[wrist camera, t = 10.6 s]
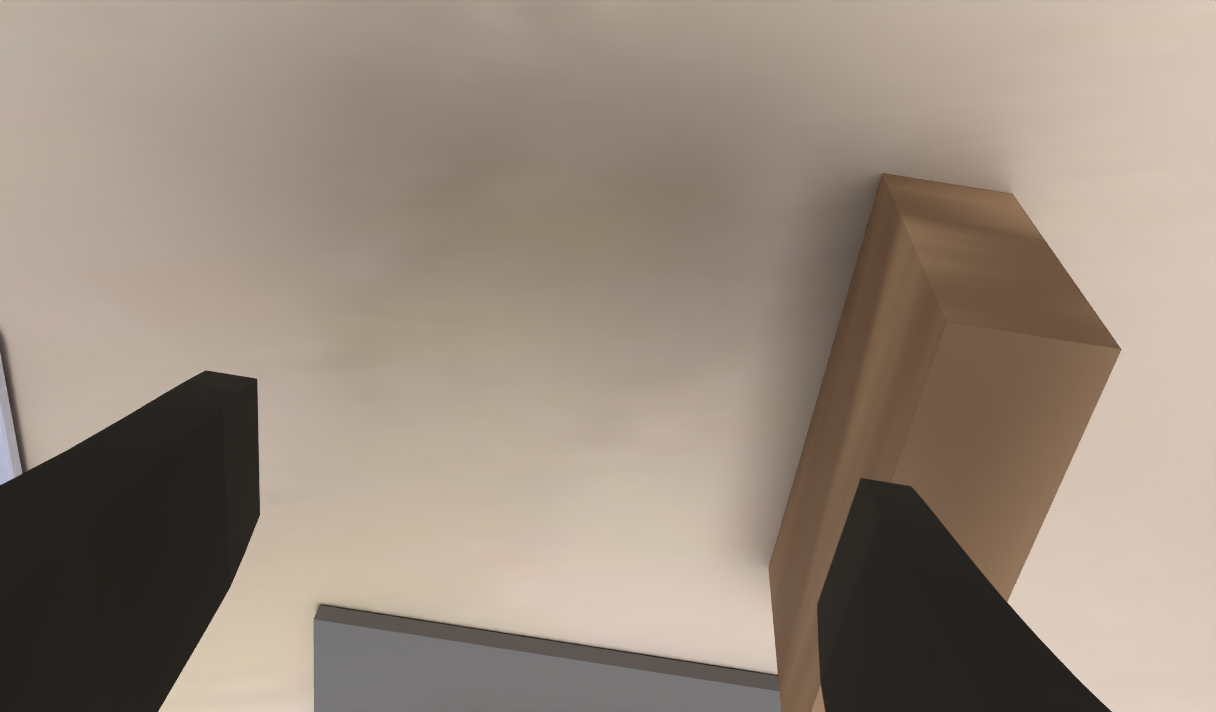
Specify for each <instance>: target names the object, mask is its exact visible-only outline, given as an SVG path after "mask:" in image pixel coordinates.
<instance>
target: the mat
mask: <svg viewBox="0 0 1216 712" xmlns="http://www.w3.org/2000/svg"><path fill="white" fill-rule="evenodd" d="M314 712H781V702H780V691H779V680H778V676H774V675H767V674H761V673H755V672H748V671H742V670H735V669H729V668H722V667H716V666H709V665H703V664H696V663H690V662H684V661H677V660H671V659H664V658H658V657H651V656H645V655H638V654H632V653H626V652H619V651H613V650H606V649H600V648H593V647H587V646H580V645H574V644H568V643H561V642H555V641H548V640H542V639H535V638H529V637H522V636H516V635H510V634H503V633H497V632H490V631H484V630H477V629H471V628H464V627H458V626H452V625H445V624H439V623H432V622H426V621H419V620H413V619H406V618H400V617H393V616H387V615H381V614H374V613H368V612H361V611H355V610H348V609H342V608H335V607H329V606H323V605H320V606H319V608H318V611H317V613H316V615H315V618H314Z"/></svg>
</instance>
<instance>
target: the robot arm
mask: <svg viewBox="0 0 1216 712" xmlns="http://www.w3.org/2000/svg"><path fill="white" fill-rule="evenodd" d="M259 516H260V494H259V446H258V397H257V379H255V378H249V377H243V376H236V375H230V374H224V373H218V372H212V371H204V372H202V373H200V374H198V375H196V376H194V377H192V378H191V379H189V380H187V381H185V382H184V383H182V384H180V385H178V386H177V387H175V388H173V389H172V390H170V391H168V392H166V393H165V394H163V395H161V396H160V397H158V398H156V399H155V400H153V401H151V402H150V403H148V404H146V405H145V406H143V407H141V408H140V409H138V410H136V411H135V412H133V413H131V414H129V415H128V416H126V417H124V418H123V419H121V420H119V421H117V422H116V423H114V424H112V425H111V426H109V427H107V428H105V429H104V430H102V431H100V432H98V433H97V434H95V435H93V436H91V437H90V438H88V439H86V440H84V441H83V442H81V443H79V444H78V445H76V446H74V447H72V448H71V449H69V450H67V451H65V452H63V453H61V454H59V455H58V456H56V457H54V458H52V459H50V460H48V461H46V462H44V463H42V464H40V465H38V466H36V467H34V468H32V469H31V470H29V471H27V472H25V473H23V474H22V469H21V464H20V458H19V453H18V447H17V442H16V436H15V431H14V425H13V420H12V415H11V409H10V404H9V398H8V393H7V387H6V382H5V376H4V371H3V365H2V360H1V354H0V712H158V711H159V709H160V707H161V706H162V704H163V702H164V701H165V699H166V697H167V695H168V694H169V692H170V690H171V689H172V687H173V685H174V683H175V682H176V680H177V678H178V677H179V675H180V673H181V672H182V670H183V668H184V666H185V665H186V663H187V661H188V660H189V658H190V656H191V654H192V653H193V651H194V649H195V648H196V646H197V644H198V643H199V641H200V639H201V637H202V636H203V634H204V632H205V630H206V629H207V627H208V625H209V623H210V622H211V620H212V618H213V616H214V615H215V613H216V611H217V610H218V608H219V606H220V604H221V603H222V601H223V599H224V597H225V595H226V594H227V592H228V590H229V588H230V586H231V584H232V582H233V579H234V577H235V575H236V572H237V570H238V568H239V565H240V563H241V561H242V558H243V556H244V554H245V551H246V549H247V546H248V543H249V541H250V538H251V536H252V533H253V531H254V528H255V526H256V523H257V521H258V518H259ZM817 620H818V650H819V668H820V683H821V689H822V695H823V701H824V707H825V712H1112V711H1110V710H1109V709H1108V708H1107V707H1106V706H1105V705H1104V704H1103V703H1102V702H1101V701H1100V700H1099V699H1098V698H1097V697H1096V696H1095V695H1094V694H1092V693H1091V692H1090V691H1089V690H1088V689H1087V688H1086V687H1085V686H1084V685H1083V684H1082V683H1081V682H1080V681H1079V680H1078V679H1077V678H1076V677H1075V676H1074V675H1073V674H1072V673H1071V671H1070V670H1069V669H1068V668H1067V667H1066V666H1065V665H1064V664H1063V663H1062V662H1061V661H1060V660H1059V659H1058V658H1057V657H1056V656H1055V655H1054V654H1053V653H1052V651H1051V650H1050V649H1049V648H1048V647H1047V646H1046V645H1045V644H1044V643H1043V642H1042V641H1041V640H1040V639H1039V638H1038V637H1037V636H1036V634H1035V633H1034V632H1033V631H1032V630H1031V629H1030V628H1029V627H1028V626H1027V624H1026V623H1025V622H1024V621H1023V620H1022V619H1021V618H1020V617H1019V615H1018V614H1017V613H1016V612H1015V611H1014V610H1013V609H1012V607H1011V606H1010V605H1009V604H1008V603H1007V602H1006V600H1005V599H1004V598H1003V597H1002V596H1001V595H1000V593H999V592H998V591H997V590H996V589H995V588H994V586H993V585H992V584H991V583H990V582H989V580H988V579H987V578H986V577H985V576H984V574H983V573H982V572H981V571H980V570H979V568H978V567H977V566H976V565H975V563H974V562H973V561H972V560H971V559H970V557H969V556H968V555H967V554H966V552H965V551H964V550H963V549H962V547H961V546H960V545H959V544H958V542H957V541H956V540H955V539H954V537H953V536H952V535H951V534H950V532H949V531H948V530H947V529H946V527H945V526H944V525H943V524H942V522H941V521H940V520H939V519H938V517H937V516H936V515H935V514H934V513H933V511H932V510H931V509H930V508H929V506H928V505H927V504H926V503H925V502H924V500H923V499H922V498H921V497H920V496H919V494H918V493H917V492H916V491H915V490H914V489H913V488H912V486H907V485H901V484H895V483H889V482H883V481H877V480H871V479H865V478H860V481H859V484H858V487H857V490H856V493H855V496H854V499H853V502H852V505H851V507H850V510H849V513H848V516H847V519H846V522H845V525H844V528H843V531H842V534H841V536H840V539H839V542H838V545H837V548H836V551H835V554H834V557H833V560H832V563H831V565H830V568H829V571H828V574H827V577H826V580H825V583H824V586H823V589H822V592H821V595H820V597H819V600H818V603H817Z"/></svg>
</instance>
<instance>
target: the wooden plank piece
mask: <svg viewBox="0 0 1216 712" xmlns="http://www.w3.org/2000/svg"><path fill="white" fill-rule="evenodd" d="M1120 351H1121V348H1120V347H1119V345H1118V344H1117V343H1116V341H1115V340H1114V338H1113V337H1112V335H1111V334H1110V333H1109V331H1108V330H1107V328H1106V327H1105V325H1104V324H1103V323H1102V321H1101V320H1100V318H1099V317H1098V315H1097V314H1096V313H1095V311H1094V310H1093V308H1092V307H1091V305H1090V304H1089V303H1088V301H1087V300H1086V298H1085V297H1084V295H1083V294H1082V293H1081V291H1080V290H1079V288H1078V287H1077V285H1076V284H1075V283H1074V281H1073V280H1072V278H1071V277H1070V275H1069V274H1068V273H1067V271H1066V270H1065V268H1064V267H1063V265H1062V264H1061V263H1060V261H1059V260H1058V258H1057V257H1056V255H1055V254H1054V253H1053V251H1052V250H1051V248H1050V247H1049V245H1048V244H1047V243H1046V241H1045V240H1044V238H1043V237H1042V235H1041V234H1040V233H1039V231H1038V230H1037V228H1036V227H1035V225H1034V224H1033V223H1032V221H1031V220H1030V218H1029V217H1028V215H1027V214H1026V213H1025V211H1024V210H1023V208H1022V207H1021V205H1020V204H1019V203H1018V201H1017V200H1016V198H1015V197H1014V195H1013V194H1009V193H1002V192H996V191H990V190H984V189H977V188H971V187H965V186H958V185H952V184H946V183H940V182H933V181H927V180H921V179H914V178H908V177H902V176H895V175H889V174H883V173H882V177H881V180H880V184H879V187H878V191H877V194H876V198H875V201H874V204H873V208H872V211H871V215H870V218H869V222H868V225H867V229H866V232H865V236H864V239H863V243H862V246H861V250H860V253H859V257H858V260H857V264H856V267H855V270H854V274H853V277H852V281H851V284H850V288H849V291H848V295H847V298H846V302H845V305H844V309H843V312H842V316H841V319H840V323H839V326H838V330H837V333H836V336H835V340H834V343H833V347H832V350H831V354H830V357H829V361H828V364H827V368H826V371H825V375H824V378H823V382H822V385H821V389H820V392H819V395H818V399H817V402H816V406H815V409H814V413H813V416H812V420H811V423H810V427H809V430H808V434H807V437H806V441H805V444H804V448H803V451H802V455H801V458H800V461H799V465H798V468H797V472H796V475H795V479H794V482H793V486H792V489H791V493H790V496H789V500H788V503H787V507H786V510H785V514H784V517H783V520H782V524H781V527H780V531H779V534H778V538H777V541H776V545H775V548H774V552H773V555H772V559H771V562H770V566H769V578H770V589H771V601H772V612H773V623H774V634H775V646H776V657H777V668H778V680H779V691H780V702H781V712H825V707H824V701H823V695H822V689H821V683H820V668H819V650H818V620H817V603H818V600H819V597H820V595H821V592H822V589H823V586H824V583H825V580H826V577H827V574H828V571H829V568H830V565H831V563H832V560H833V557H834V554H835V551H836V548H837V545H838V542H839V539H840V536H841V534H842V531H843V528H844V525H845V522H846V519H847V516H848V513H849V510H850V507H851V505H852V502H853V499H854V496H855V493H856V490H857V487H858V484H859V481H860V478H865V479H871V480H877V481H883V482H889V483H895V484H901V485H907V486H912V488H913V489H914V490H915V491H916V492H917V493H918V494H919V496H920V497H921V498H922V499H923V500H924V502H925V503H926V504H927V505H928V506H929V508H930V509H931V510H932V511H933V513H934V514H935V515H936V516H937V517H938V519H939V520H940V521H941V522H942V524H943V525H944V526H945V527H946V529H947V530H948V531H949V532H950V534H951V535H952V536H953V537H954V539H955V540H956V541H957V542H958V544H959V545H960V546H961V547H962V549H963V550H964V551H965V552H966V554H967V555H968V556H969V557H970V559H971V560H972V561H973V562H974V563H975V565H976V566H977V567H978V568H979V570H980V571H981V572H982V573H983V574H984V576H985V577H986V578H987V579H988V580H989V582H990V583H991V584H992V585H993V586H994V588H995V589H996V590H997V591H998V592H999V593H1000V595H1001V596H1002V597H1003V598H1004V599H1005V600H1006V602H1007V601H1008V599H1009V597H1010V595H1011V592H1012V590H1013V588H1014V586H1015V584H1016V581H1017V579H1018V577H1019V575H1020V572H1021V570H1022V568H1023V566H1024V564H1025V561H1026V559H1027V557H1028V555H1029V553H1030V550H1031V548H1032V546H1033V544H1034V542H1035V539H1036V537H1037V535H1038V533H1039V530H1040V528H1041V526H1042V524H1043V522H1044V519H1045V517H1046V515H1047V513H1048V511H1049V508H1050V506H1051V504H1052V502H1053V500H1054V497H1055V495H1056V493H1057V491H1058V488H1059V486H1060V484H1061V482H1062V480H1063V477H1064V475H1065V473H1066V471H1067V469H1068V466H1069V464H1070V462H1071V460H1072V458H1073V455H1074V453H1075V451H1076V449H1077V446H1078V444H1079V442H1080V440H1081V438H1082V435H1083V433H1084V431H1085V429H1086V427H1087V424H1088V422H1089V420H1090V418H1091V415H1092V413H1093V411H1094V409H1095V407H1096V404H1097V402H1098V400H1099V398H1100V396H1101V393H1102V391H1103V389H1104V387H1105V385H1106V382H1107V380H1108V378H1109V376H1110V373H1111V371H1112V369H1113V367H1114V365H1115V362H1116V360H1117V358H1118V356H1119V354H1120Z"/></svg>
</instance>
